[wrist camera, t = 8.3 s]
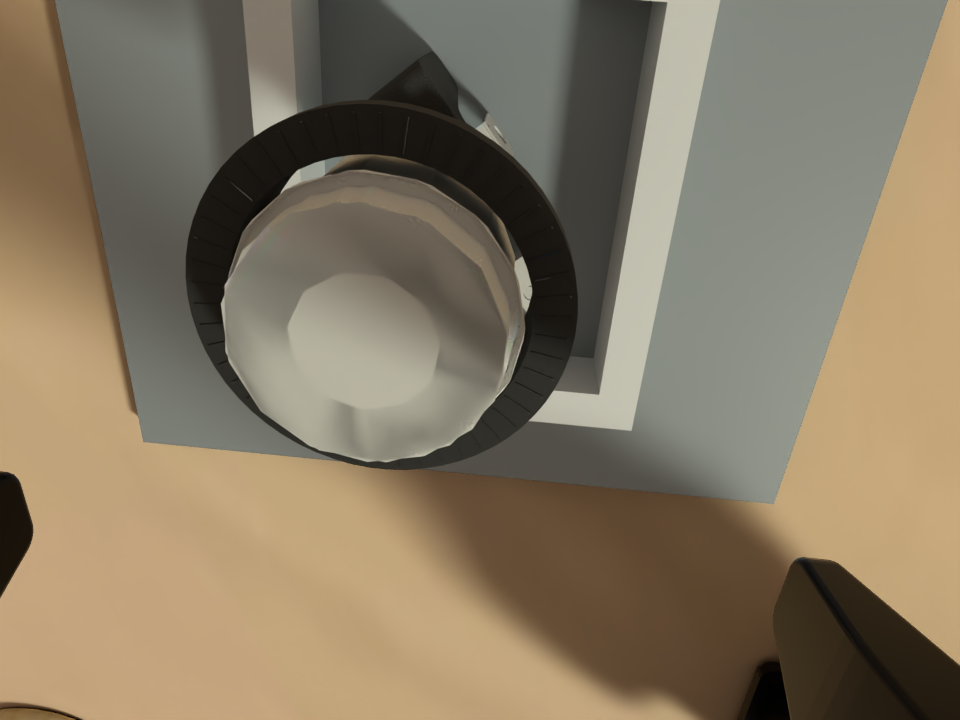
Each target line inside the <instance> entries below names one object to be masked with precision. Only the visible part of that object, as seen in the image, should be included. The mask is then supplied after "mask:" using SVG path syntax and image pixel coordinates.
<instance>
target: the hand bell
mask: <svg viewBox="0 0 960 720" xmlns="http://www.w3.org/2000/svg"><path fill="white" fill-rule="evenodd" d="M0 720H76V719H73V718H70V717H67V716H64V715H61V714H58V713H53V712H49V711H43V710H39V709H26V708H9V709H1V710H0Z"/></svg>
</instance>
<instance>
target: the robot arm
mask: <svg viewBox="0 0 960 720" xmlns="http://www.w3.org/2000/svg"><path fill="white" fill-rule="evenodd" d="M32 537H33V523H32V520H31V517H30V513H29V510H28V507H27V503H26V500H25V497H24V494H23V490H22V487H21V484H20V481H19V480H18V478H17V477H16V476H15V475H14V474H11V473H9V472H2V471H0V598H1V596H2V594H3V592H4V591H5V589H6V587H7V585H8V584H9V582H10V580H11V578H12V577H13V575H14V573H15V571H16V570H17V568H18V566H19V565H20V563H21V561H22V559H23V558H24V556H25V554H26V552H27V551H28V549H29V547H30V544H31V541H32ZM773 626H774V633H775V639H776V644H777V649H778V654H779V660H780V663H778V662H768V663H764V664H762V665H761V666H759V667H758V669H757V671H756V673H755V676H754V678H753V681H752V684H751V686H750V689H749V691H748V694H747V697H746V699H745V702H744V704H743V707H742V709H741V712H740V715H739V717H738V720H960V665H959V664H958V663H956V662H955V661H954V660H953V659H952V658H950V657H949V656H948V655H947V654H946V653H945V652H943V651H942V650H941V649H940V648H939V647H937V646H936V645H935V644H934V643H933V642H931V641H930V640H929V639H928V638H927V637H925V636H924V635H923V634H922V633H921V632H920V631H918V630H917V629H916V628H915V627H914V626H912V625H911V624H910V623H909V622H908V621H906V620H905V619H904V618H903V617H902V616H900V615H899V614H898V613H897V612H896V611H895V610H893V609H892V608H891V607H890V606H889V605H887V604H886V603H885V602H884V601H883V600H881V599H880V598H879V597H878V596H877V595H876V594H874V593H873V592H872V591H871V590H870V589H868V588H867V587H866V586H865V585H864V584H862V583H861V582H860V581H859V580H858V579H856V578H855V577H854V576H853V575H852V574H851V573H849V572H848V571H847V570H846V569H845V568H843V567H842V566H841V565H839V564H838V563H836V562H834V561H831V560H825V559H815V558H806V557H801V558H798V559H796V560H795V561H794V562H793V563H792V565H791V567H790V569H789V572H788V574H787V577H786V580H785V582H784V585H783V587H782V590H781V593H780V595H779V598H778V600H777V603H776V606H775V609H774V615H773Z"/></svg>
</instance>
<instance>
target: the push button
mask: <svg viewBox="0 0 960 720" xmlns="http://www.w3.org/2000/svg"><path fill="white" fill-rule="evenodd" d="M513 154H514V150H513V148H512V146H511V144H510V143H509V141H508V140H507V138H506V137H505V135H504V134H503V132H502V131H501V129H500V128H499V126H498V125H497V123H496V122H495V120H494V119H493V117H492V116H491V115H490V114H489V113H487V114H485V117H484V119H483V123H481V124H480V125H479V126H478V127H476V128H473V127H472V126H470V125H469V124H467V123H466V122H465V120H464V119H463V117H462V115H461V113H460V111H459V108H458V87H457V85H456V83H455V81H454V79H453V77H452V76H451V74H450V73H449V71H448V70H447V68H446V67H445V65H444V64H443V63H442V61H441V60H440V58H439V57H438V56H437V55H436V53H434V52H433V51H431V52H429V53H427V54H426V55H424V56H422V57H421V58H419V59H417V60H416V61H415V62H414V63H412V64H411V65H410V66H409V67H407V68H406V69H405V70H404V71H402V72H401V73H400V74H399V75H397V76H396V77H395V78H394V79H392V80H391V81H390V82H389V83H387V84H386V85H385V86H384V87H382V88H381V89H380V90H379V91H377V92H376V93H375V94H374V95H372V96H371V97H370V98H369V99H367V100H354V101H341V102H336V103H331V104H326V105H321V106H317V107H314V108H311V109H308V110H305V111H302V112H299V113H297V114H295V115H293V116H290V117H288V118H286V119H284V120H282V121H280V122H278V123H276V124H274V125H272V126H270V127H269V128H267V129H265V130H264V131H262V132H261V133H259V134H257V135H256V136H254V137H253V138H251V139H250V140H249V141H248V142H246V143H245V144H244V145H243V146H242V147H240V148H239V149H238V150H237V151H236V152H235V153H234V154H233V155H232V156H231V157H230V158H229V159H228V160H227V161H226V162H225V163H224V164H223V165H222V166H221V168H220V169H219V171H218V172H217V173H216V175H215V176H214V178H213V179H212V180H211V182H210V183H209V185H208V187H207V189H206V191H205V192H204V194H203V196H202V198H201V200H200V202H199V205H198V207H197V210H196V212H195V215H194V217H193V220H192V224H191V228H190V232H189V236H188V242H187V250H186V272H185V278H186V287H187V296H188V301H189V305H190V310H191V315H192V318H193V321H194V324H195V327H196V330H197V333H198V335H199V338H200V340H201V342H202V344H203V347H204V349H205V351H206V353H207V355H208V356H209V358H210V360H211V362H212V363H213V365H214V367H215V368H216V370H217V371H218V373H219V374H220V376H221V377H222V378H223V380H224V381H225V383H226V384H227V385H228V386H229V388H230V389H231V390H232V391H233V392H234V393H235V395H236V396H237V397H238V398H239V399H240V400H241V401H242V402H243V403H244V404H245V405H246V406H247V407H248V408H249V409H250V410H251V411H252V412H253V413H254V414H256V415H257V416H258V417H259V418H260V419H262V420H263V421H264V422H265V423H266V424H268V425H269V426H271V427H272V428H273V429H275V430H276V431H278V432H279V433H281V434H282V435H284V436H285V437H287V438H289V439H291V440H292V441H294V442H296V443H298V444H299V445H302V446H304V447H306V448H308V449H310V450H312V451H314V452H316V453H319V454H322V455H325V456H327V457H330V458H333V459H336V460H339V461H343V462H346V463H350V464H354V465H360V466H365V467H370V468H380V469H394V470H410V469H424V468H431V467H437V466H443V465H447V464H451V463H454V462H458V461H461V460H464V459H467V458H470V457H473V456H475V455H478V454H480V453H482V452H484V451H486V450H488V449H490V448H492V447H494V446H496V445H497V444H499V443H501V442H502V441H504V440H506V439H507V438H508V437H510V436H511V435H512V434H514V433H515V432H516V431H518V430H519V429H520V428H522V427H523V426H524V425H525V424H526V423H527V422H528V421H529V420H530V419H531V418H532V417H533V416H534V415H535V414H536V413H537V412H538V411H539V409H540V408H541V407H542V406H543V405H544V404H545V402H546V401H547V400H548V398H549V397H550V395H551V394H552V392H553V391H554V389H555V388H556V386H557V384H558V382H559V380H560V378H561V376H562V374H563V372H564V370H565V368H566V365H567V362H568V360H569V357H570V354H571V351H572V347H573V343H574V339H575V334H576V326H577V319H578V292H577V283H576V274H575V267H574V263H573V258H572V254H571V249H570V246H569V243H568V240H567V237H566V234H565V231H564V229H563V226H562V224H561V222H560V220H559V218H558V216H557V214H556V212H555V210H554V208H553V206H552V205H551V203H550V201H549V200H548V198H547V197H546V195H545V193H544V192H543V190H542V189H541V188H540V186H539V185H538V184H537V183H536V181H535V180H534V179H533V178H532V176H531V175H530V174H529V173H528V172H527V170H526V169H525V168H524V167H523V166H522V165H521V164H520V163H519V162H518V161H517V160H516V159H515V158H514V157H513ZM342 156H345V157H344V158H343V159H342V160H341V161H340V162H338V163H337V164H336V165H335V166H334V167H333V168H332V169H331V170H329V171H328V172H327V173H326V174H325V175H324V176H323V177H319V178H315V179H311V180H307V181H303V182H300V183H298V184H296V185H294V186H292V187H290V188H288V189H286V190H284V191H283V192H282V193H281V191H282V190H283V188H284V187H285V185H286V184H287V182H288V181H289V179H290V178H291V177H292V176H293V174H294V173H295V172H296V171H297V170H299V169H302V168H304V167H306V166H309V165H311V164H313V163H316V162H320V161H323V160H327V159H330V158H335V157H342ZM280 193H281V194H280ZM524 294H525V296H526V297H527V298H526V297H525V296H524ZM523 308H524V309H525V311H526V314H525V317H524V314H523Z"/></svg>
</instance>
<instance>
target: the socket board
mask: <svg viewBox="0 0 960 720" xmlns="http://www.w3.org/2000/svg"><path fill="white" fill-rule="evenodd" d="M947 1H948V0H55V4H56V9H57V14H58V19H59V24H60V29H61V34H62V39H63V44H64V49H65V54H66V59H67V64H68V69H69V74H70V79H71V84H72V89H73V94H74V99H75V104H76V109H77V114H78V119H79V124H80V129H81V134H82V139H83V144H84V149H85V154H86V159H87V164H88V169H89V174H90V179H91V184H92V189H93V193H94V198H95V203H96V208H97V213H98V218H99V223H100V228H101V233H102V238H103V243H104V248H105V253H106V258H107V263H108V268H109V273H110V278H111V283H112V288H113V293H114V298H115V303H116V308H117V313H118V318H119V323H120V328H121V333H122V338H123V343H124V348H125V353H126V358H127V363H128V368H129V373H130V378H131V383H132V388H133V393H134V398H135V403H136V408H137V413H138V418H139V423H140V428H141V433H142V438H143V442H149V443H159V444H169V445H180V446H190V447H200V448H210V449H220V450H230V451H240V452H251V453H261V454H271V455H281V456H291V457H301V458H311V459H322V460H332V461H339V460H336V459H333V458H330V457H327V456H325V455H322V454H319V453H316V452H314V451H312V450H310V449H308V448H306V447H304V446H302V445H299V444H298V443H296V442H294V441H292V440H291V439H289V438H287V437H285V436H284V435H282V434H281V433H279V432H278V431H276V430H275V429H273V428H272V427H271V426H269V425H268V424H266V423H265V422H264V421H263V420H262V419H260V418H259V417H258V416H257V415H256V414H254V413H253V412H252V411H251V410H250V409H249V408H248V407H247V406H246V405H245V404H244V403H243V402H242V401H241V400H240V399H239V398H238V397H237V396H236V395H235V393H234V392H233V391H232V390H231V389H230V388H229V386H228V385H227V384H226V383H225V381H224V380H223V378H222V377H221V376H220V374H219V373H218V371H217V370H216V368H215V367H214V365H213V363H212V362H211V360H210V358H209V356H208V355H207V353H206V351H205V349H204V347H203V344H202V342H201V340H200V338H199V335H198V333H197V330H196V327H195V324H194V321H193V318H192V315H191V310H190V305H189V301H188V296H187V287H186V278H185V272H186V250H187V242H188V236H189V232H190V228H191V224H192V220H193V217H194V215H195V212H196V210H197V207H198V205H199V202H200V200H201V198H202V196H203V194H204V192H205V191H206V189H207V187H208V185H209V183H210V182H211V180H212V179H213V178H214V176H215V175H216V173H217V172H218V171H219V169H220V168H221V166H222V165H223V164H224V163H225V162H226V161H227V160H228V159H229V158H230V157H231V156H232V155H233V154H234V153H235V152H236V151H237V150H238V149H239V148H240V147H242V146H243V145H244V144H245V143H246V142H248V141H249V140H250V139H251V138H253V137H254V136H256V135H257V134H259V133H261V132H262V131H264V130H265V129H267V128H269V127H270V126H272V125H274V124H276V123H278V122H280V121H282V120H284V119H286V118H288V117H290V116H293V115H295V114H297V113H299V112H302V111H305V110H308V109H311V108H314V107H317V106H321V105H326V104H331V103H336V102H341V101H354V100H367V99H369V98H370V97H371V96H372V95H374V94H375V93H376V92H377V91H379V90H380V89H381V88H382V87H384V86H385V85H386V84H387V83H389V82H390V81H391V80H392V79H394V78H395V77H396V76H397V75H399V74H400V73H401V72H402V71H404V70H405V69H406V68H407V67H409V66H410V65H411V64H412V63H414V62H415V61H416V60H417V59H419V58H421V57H422V56H424V55H426V54H427V53H429V52H431V51H433V52H434V53H436V55H437V56H438V57H439V58H440V60H441V61H442V63H443V64H444V65H445V67H446V68H447V70H448V71H449V73H450V74H451V76H452V77H453V79H454V81H455V83H456V85H457V87H458V108H459V111H460V113H461V115H462V117H463V119H464V120H465V122H466V123H467V124H469V125H470V126H472V127H473V128H476V127H478V126H479V125H480V124H481V123H483V119H484V117H485V114H487V113H489V114H490V115H491V116H492V117H493V119H494V120H495V122H496V123H497V125H498V126H499V128H500V129H501V131H502V132H503V134H504V135H505V137H506V138H507V140H508V141H509V143H510V144H511V146H512V148H513V150H514V154H513V157H514V158H515V159H516V160H517V161H518V162H519V163H520V164H521V165H522V166H523V167H524V168H525V169H526V170H527V172H528V173H529V174H530V175H531V176H532V178H533V179H534V180H535V181H536V183H537V184H538V185H539V186H540V188H541V189H542V190H543V192H544V193H545V195H546V197H547V198H548V200H549V201H550V203H551V205H552V206H553V208H554V210H555V212H556V214H557V216H558V218H559V220H560V222H561V224H562V226H563V229H564V231H565V234H566V237H567V240H568V243H569V246H570V249H571V254H572V258H573V263H574V267H575V274H576V283H577V292H578V319H577V326H576V334H575V339H574V343H573V347H572V351H571V354H570V357H569V360H568V362H567V365H566V368H565V370H564V372H563V374H562V376H561V378H560V380H559V382H558V384H557V386H556V388H555V389H554V391H553V392H552V394H551V395H550V397H549V398H548V400H547V401H546V402H545V404H544V405H543V406H542V407H541V408H540V409H539V411H538V412H537V413H536V414H535V415H534V416H533V417H532V418H531V419H530V420H529V421H528V422H527V423H526V424H525V425H524V426H523V427H522V428H520V429H519V430H518V431H516V432H515V433H514V434H512V435H511V436H510V437H508V438H507V439H506V440H504V441H502V442H501V443H499V444H497V445H496V446H494V447H492V448H490V449H488V450H486V451H484V452H482V453H480V454H478V455H475V456H473V457H470V458H467V459H464V460H461V461H458V462H454V463H451V464H447V465H443V466H437V467H431V468H424V469H423V470H433V471H443V472H453V473H464V474H474V475H484V476H494V477H504V478H514V479H524V480H535V481H545V482H555V483H565V484H575V485H585V486H595V487H606V488H616V489H626V490H636V491H646V492H656V493H666V494H677V495H687V496H697V497H707V498H717V499H727V500H737V501H748V502H758V503H768V504H774V502H775V499H776V496H777V493H778V490H779V488H780V485H781V482H782V479H783V476H784V473H785V470H786V467H787V464H788V461H789V459H790V456H791V453H792V450H793V447H794V444H795V441H796V438H797V435H798V433H799V430H800V427H801V424H802V421H803V418H804V415H805V412H806V409H807V406H808V404H809V401H810V398H811V395H812V392H813V389H814V386H815V383H816V380H817V377H818V375H819V372H820V369H821V366H822V363H823V360H824V357H825V354H826V351H827V349H828V346H829V343H830V340H831V337H832V334H833V331H834V328H835V325H836V322H837V320H838V317H839V314H840V311H841V308H842V305H843V302H844V299H845V296H846V294H847V291H848V288H849V285H850V282H851V279H852V276H853V273H854V270H855V267H856V265H857V262H858V259H859V256H860V253H861V250H862V247H863V244H864V241H865V239H866V236H867V233H868V230H869V227H870V224H871V221H872V218H873V215H874V212H875V210H876V207H877V204H878V201H879V198H880V195H881V192H882V189H883V186H884V183H885V181H886V178H887V175H888V172H889V169H890V166H891V163H892V160H893V157H894V155H895V152H896V149H897V146H898V143H899V140H900V137H901V134H902V131H903V128H904V126H905V123H906V120H907V117H908V114H909V111H910V108H911V105H912V102H913V100H914V97H915V94H916V91H917V88H918V85H919V82H920V79H921V76H922V73H923V71H924V68H925V65H926V62H927V59H928V56H929V53H930V50H931V47H932V45H933V42H934V39H935V36H936V33H937V30H938V27H939V24H940V21H941V18H942V16H943V13H944V10H945V7H946V4H947ZM344 157H345V156H342V157H335V158H330V159H327V160H323V161H320V162H316V163H313V164H311V165H309V166H306V167H304V168H302V169H299V170H297V171H296V172H295V173H294V174H293V176H292V177H291V178H290V179H289V181H288V182H287V184H286V185H285V187H284V188H283V190H282V191H281V193H282V192H283V191H284V190H286V189H288V188H290V187H292V186H294V185H296V184H298V183H300V182H303V181H307V180H311V179H315V178H319V177H323V176H324V175H325V174H326V173H327V172H328V171H329V170H331V169H332V168H333V167H334V166H335V165H336V164H337V163H338V162H340V161H341V160H342V159H343V158H344ZM281 193H280V194H281ZM524 296H525V294H524ZM525 297H526V296H525ZM526 298H527V297H526ZM523 314H524V317H525V314H526V311H525V309H524V308H523ZM342 462H343V461H342Z"/></svg>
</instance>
